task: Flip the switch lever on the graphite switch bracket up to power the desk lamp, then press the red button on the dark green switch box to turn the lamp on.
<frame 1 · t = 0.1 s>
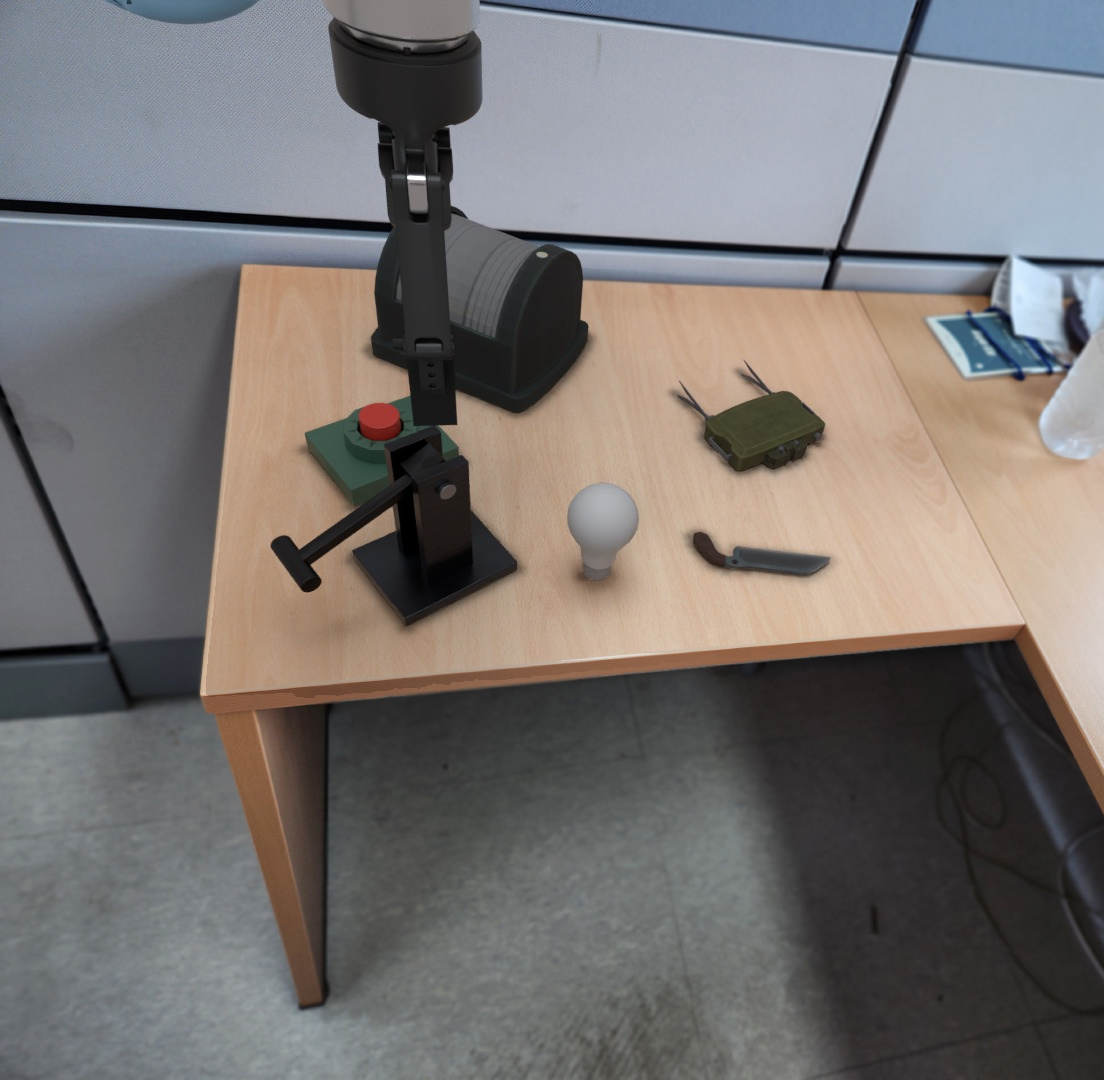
hand: (431, 356, 59), 23 cm above the table, tool pointing down, fingers open, 13 cm apart
light fixture: (484, 346, 98), on the table
landmine: (748, 423, 98), on the table
switch lever: (366, 512, 66), point 10 cm above the table, hinge at -20.0°
lightbulb: (595, 576, 79), on the table
button box: (385, 456, 84), on the table
knife: (761, 558, 84), on the table
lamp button: (380, 422, 80), point 4 cm above the table, slide at 0.1 cm
switch bracket: (436, 564, 76), on the table
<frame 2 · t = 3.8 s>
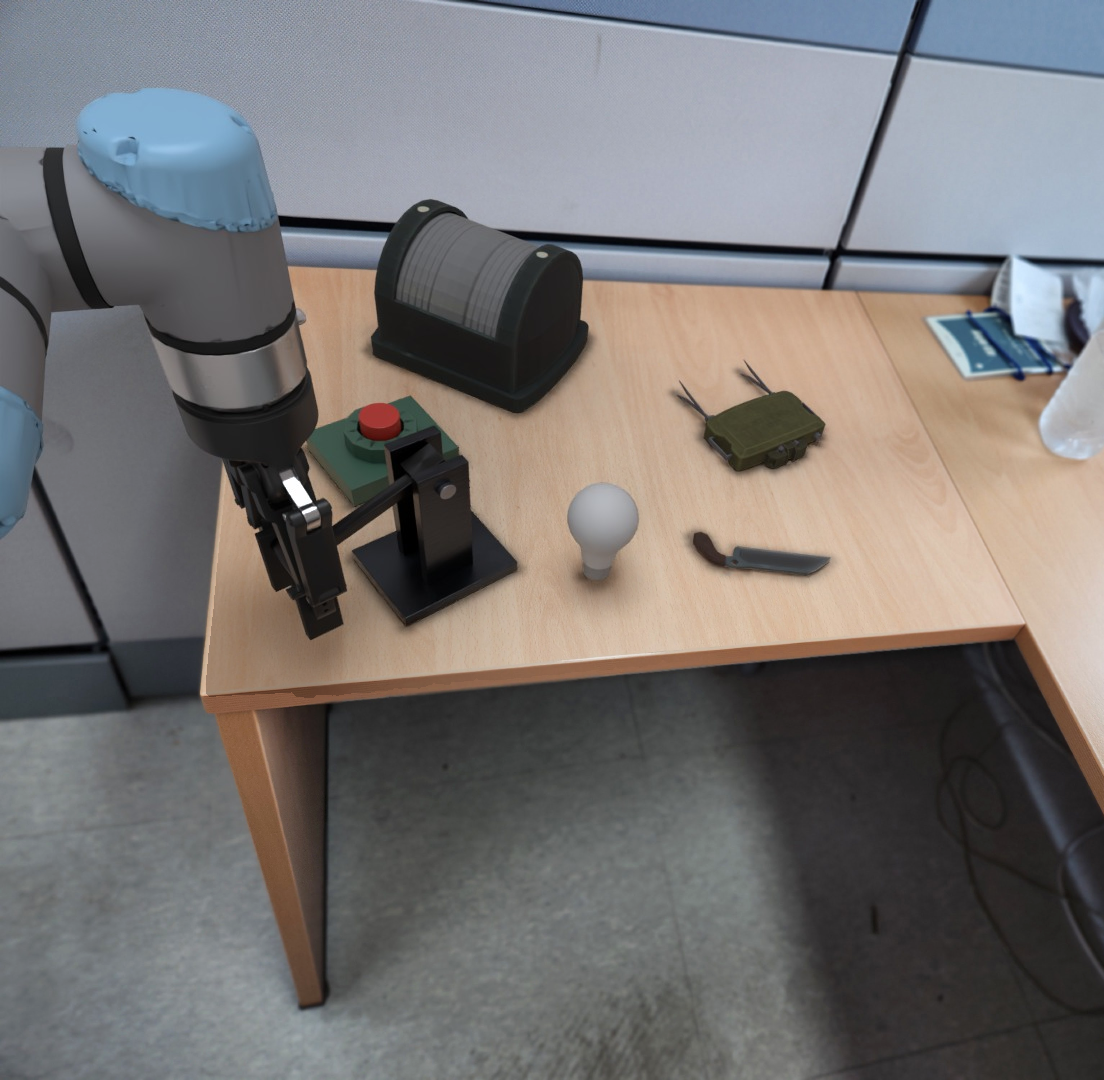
hand: (307, 604, 68), 3 cm above the table, tool pointing down, fingers closed on switch lever, 5 cm apart
switch lever: (366, 512, 66), point 10 cm above the table, hinge at -20.0°, touching gripper
everything else where it was.
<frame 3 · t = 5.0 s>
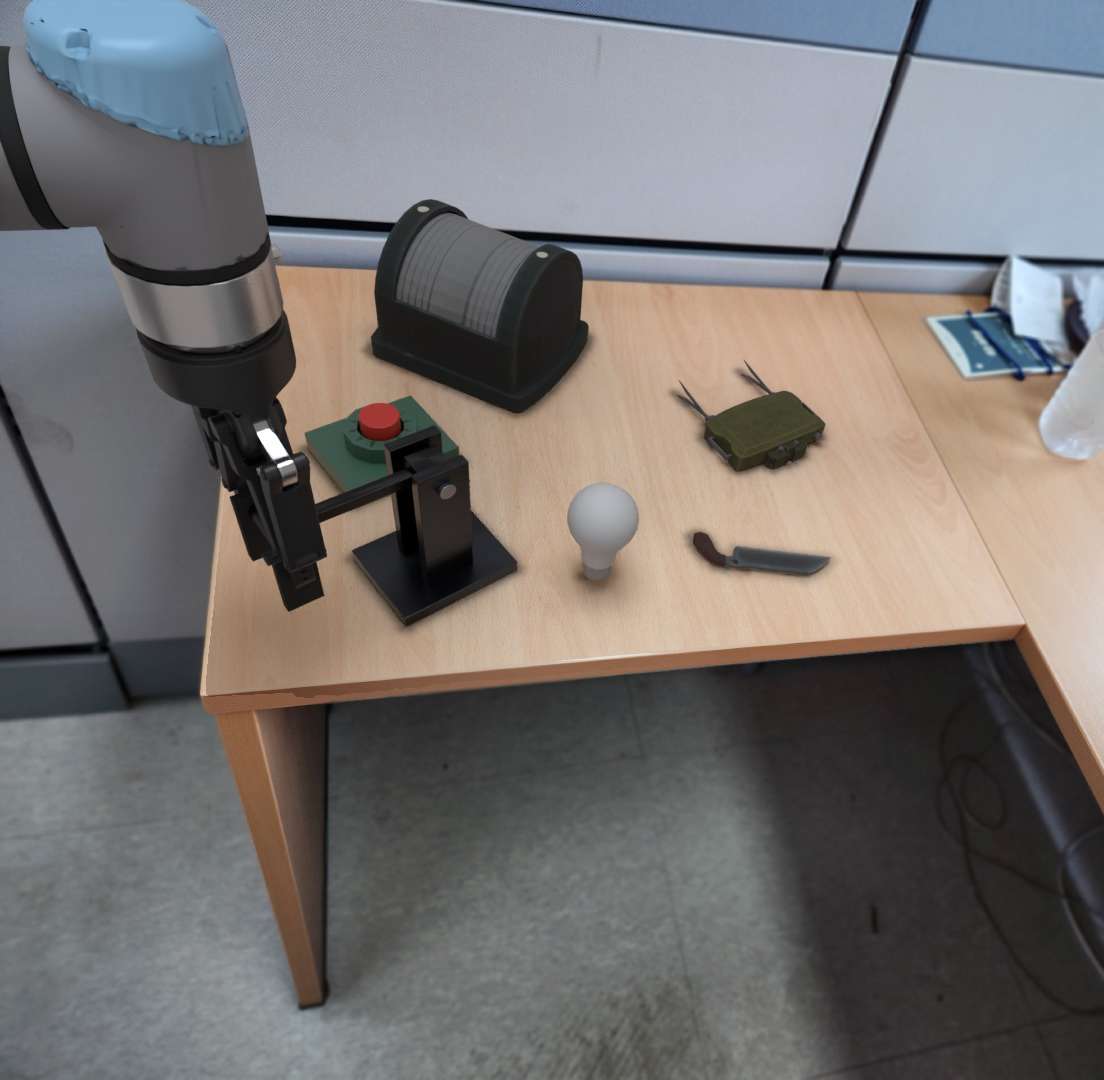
hand: (286, 575, 64), 7 cm above the table, tool pointing down, fingers closed on switch lever, 5 cm apart
switch lever: (359, 496, 64), point 12 cm above the table, hinge at 0.7°, touching gripper
everything else where it was.
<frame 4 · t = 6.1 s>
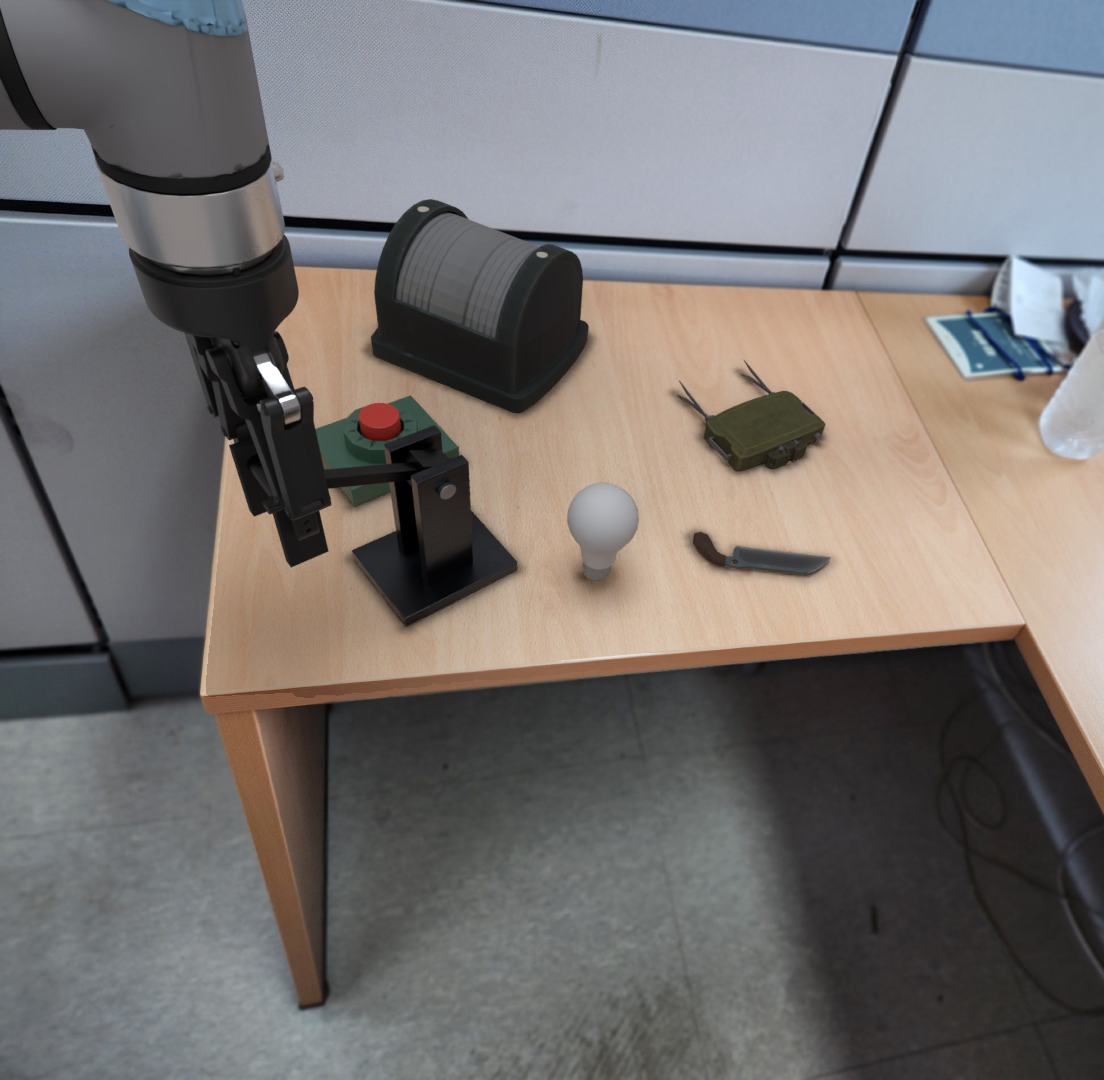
hand: (288, 530, 62), 12 cm above the table, tool pointing down, fingers closed on switch lever, 5 cm apart
switch lever: (361, 475, 63), point 14 cm above the table, hinge at 21.7°, touching gripper
everything else where it was.
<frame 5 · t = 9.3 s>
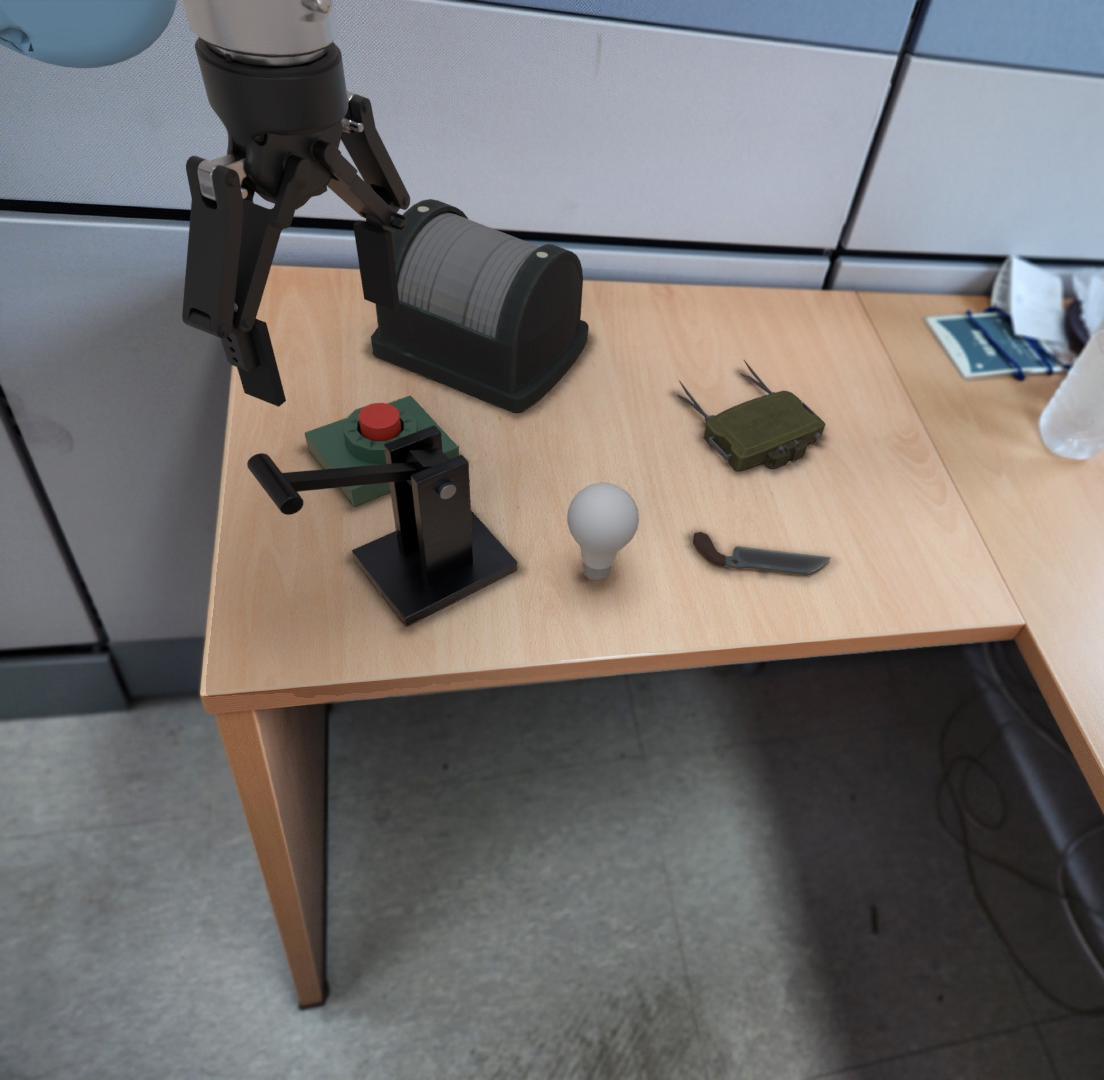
hand: (328, 347, 64), 19 cm above the table, tool pointing down, fingers open, 13 cm apart
switch lever: (361, 475, 63), point 14 cm above the table, hinge at 21.8°
everything else where it was.
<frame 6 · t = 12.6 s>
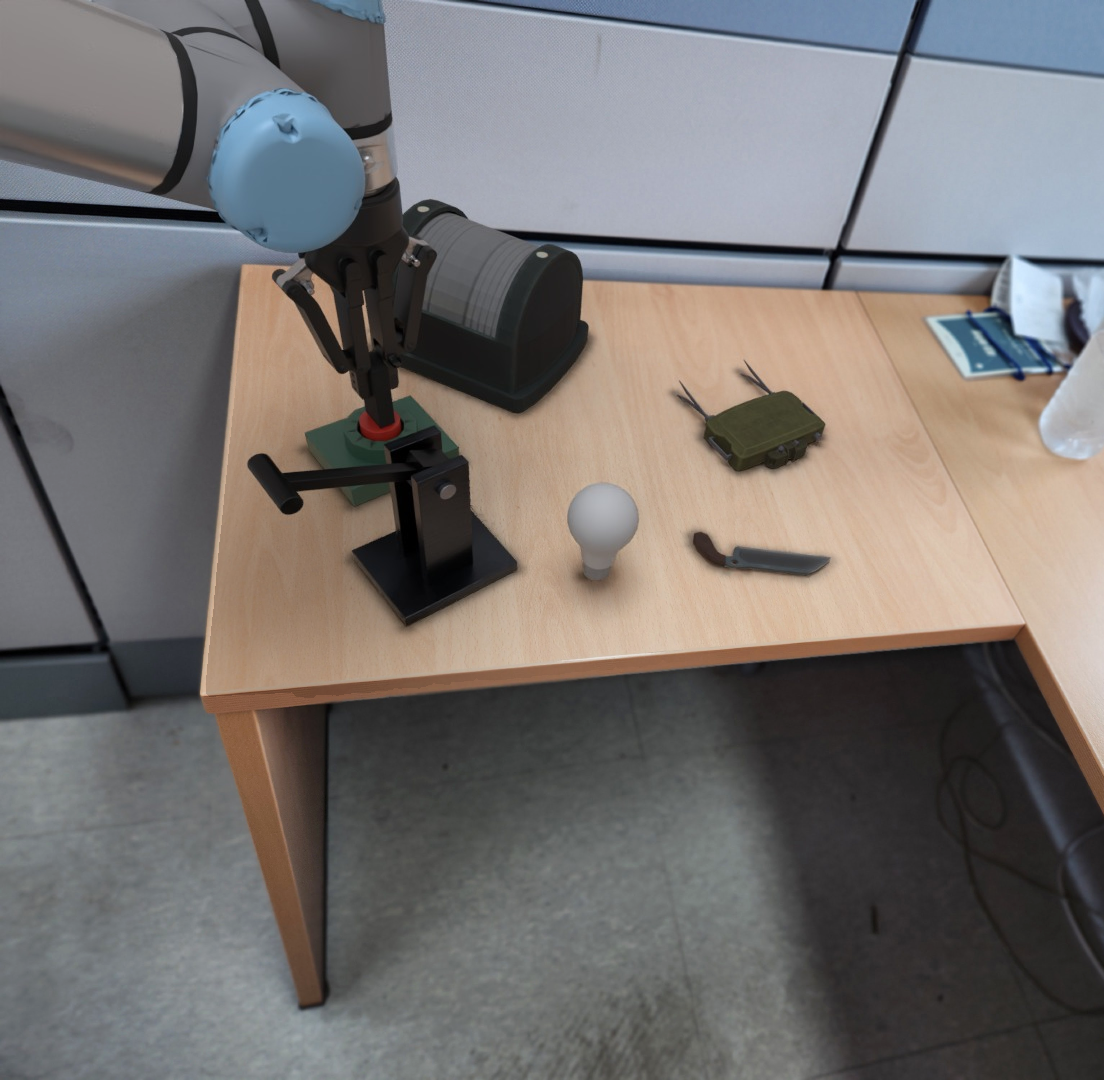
hand: (380, 416, 80), 5 cm above the table, tool pointing down, fingers closed
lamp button: (380, 426, 81), point 4 cm above the table, slide at -0.4 cm, touching gripper
everything else where it was.
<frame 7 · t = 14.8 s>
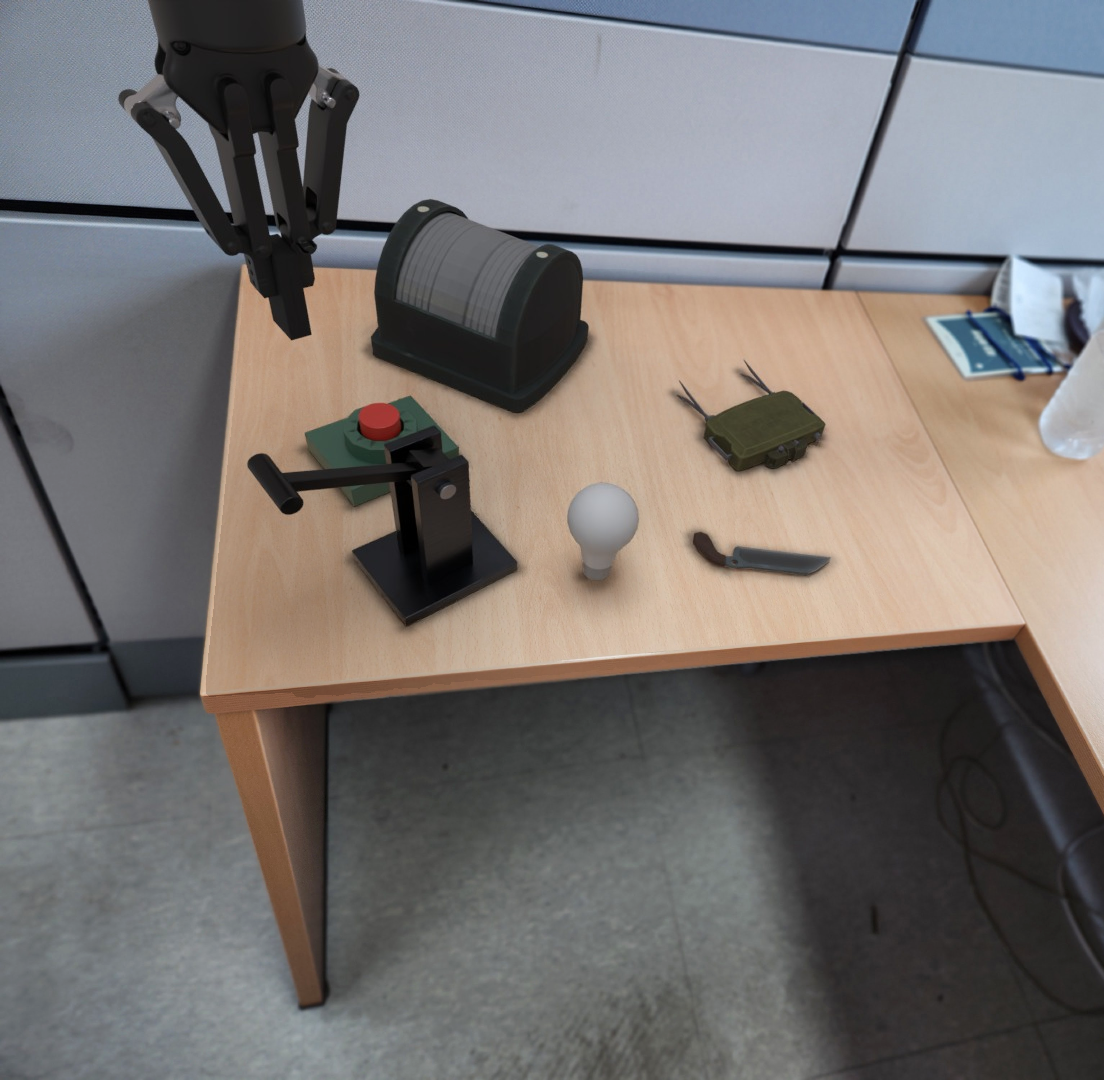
hand: (292, 327, 61), 21 cm above the table, tool pointing down, fingers closed
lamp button: (380, 422, 80), point 4 cm above the table, slide at 0.1 cm
everything else where it was.
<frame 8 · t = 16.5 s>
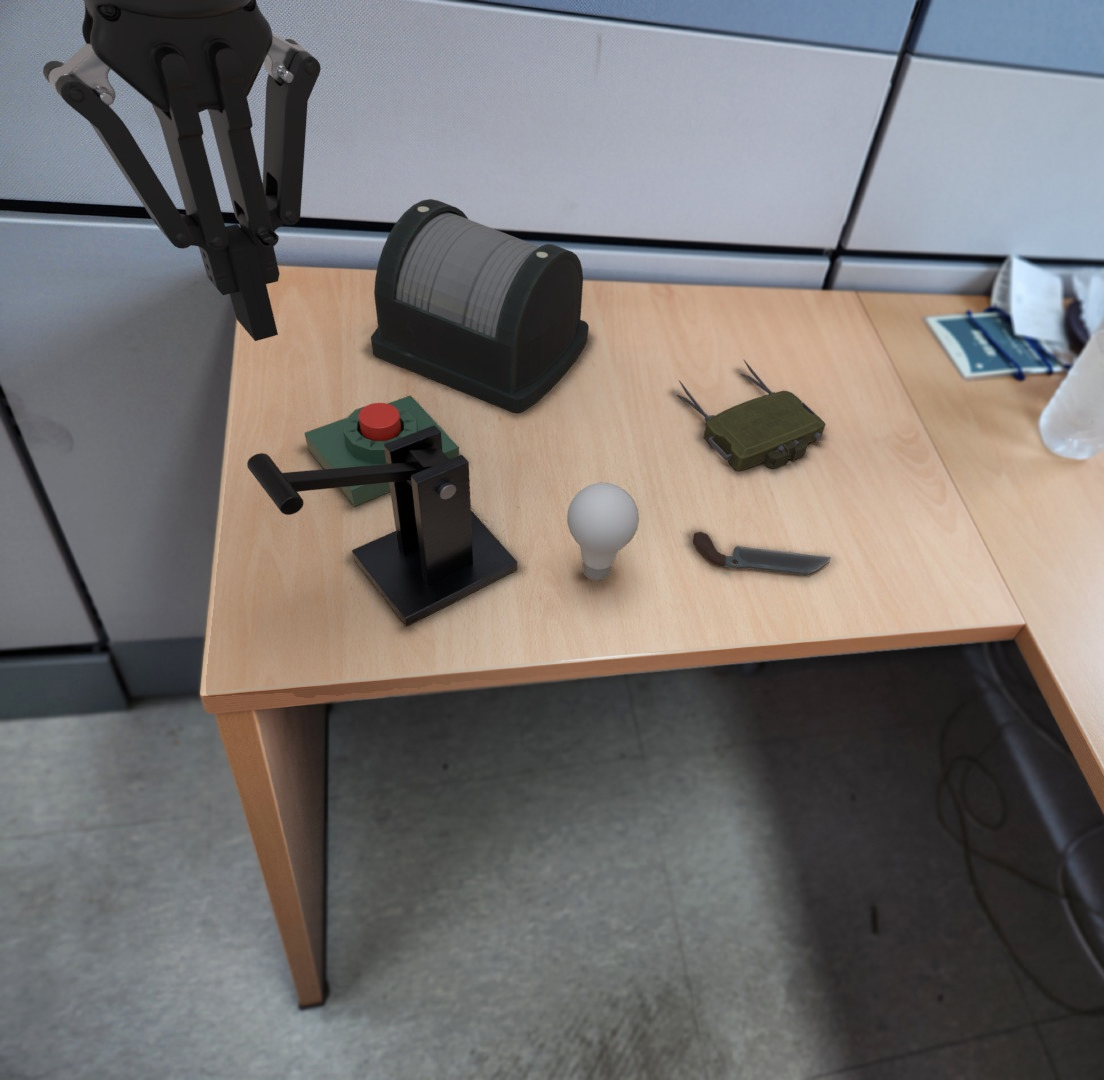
hand: (257, 326, 56), 24 cm above the table, tool pointing down, fingers closed
nothing on the table moved.
at the end: switch lever at +22° (first picture: -20°); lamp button pushed in 1.0 cm at the most during the clip, back to where it started at the end; light fixture moved 0.2 cm from its start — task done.
